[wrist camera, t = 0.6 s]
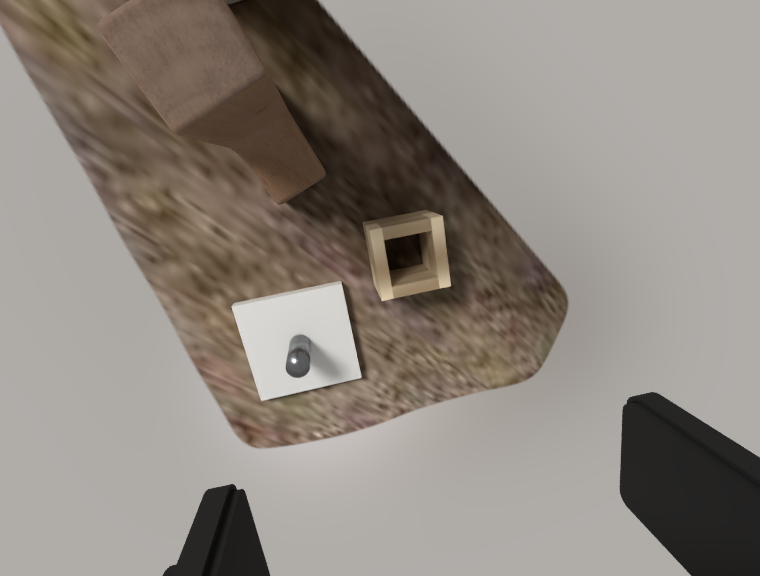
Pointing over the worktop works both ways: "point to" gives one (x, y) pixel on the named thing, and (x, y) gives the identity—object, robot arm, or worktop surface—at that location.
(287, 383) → the pin plate
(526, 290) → the worktop surface
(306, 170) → the wooden block
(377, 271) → the maple collar
